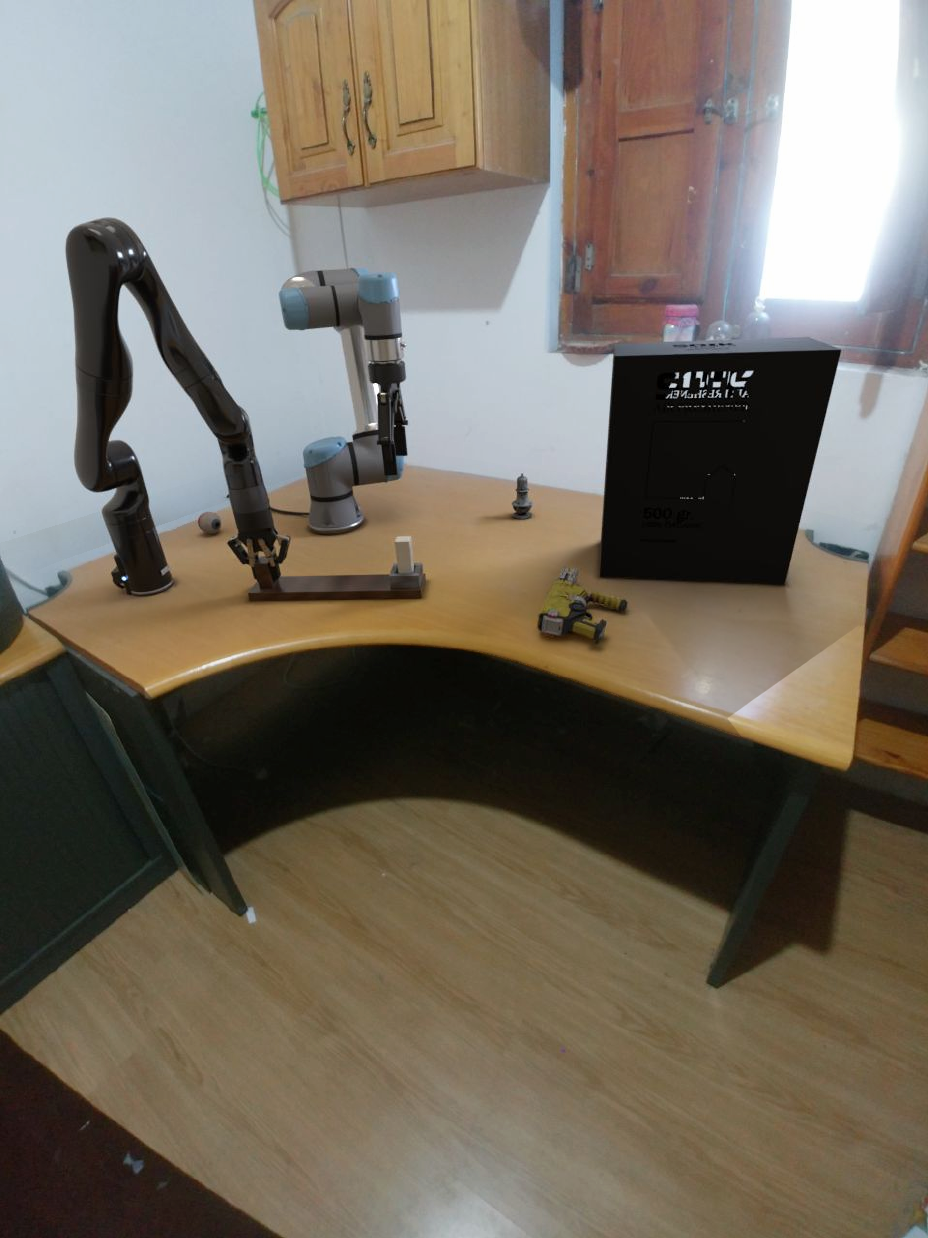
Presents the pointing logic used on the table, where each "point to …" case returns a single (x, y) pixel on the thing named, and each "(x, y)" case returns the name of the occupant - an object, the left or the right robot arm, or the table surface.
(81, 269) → the left robot arm
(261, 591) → the peg board
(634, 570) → the cardboard box
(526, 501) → the salt shaker
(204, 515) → the eyeball
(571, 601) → the toy gun
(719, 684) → the table surface
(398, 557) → the peg
